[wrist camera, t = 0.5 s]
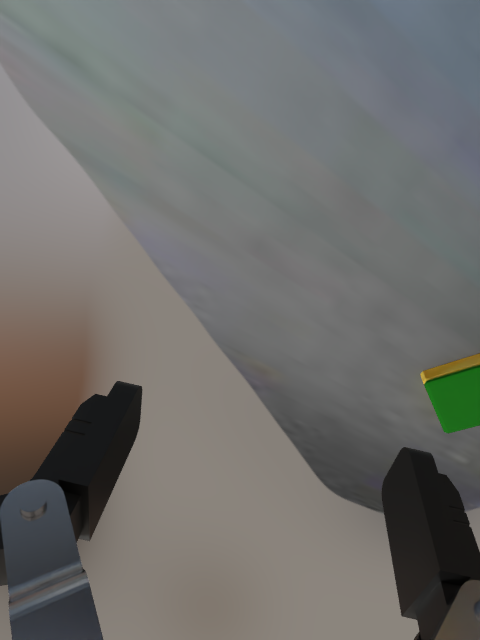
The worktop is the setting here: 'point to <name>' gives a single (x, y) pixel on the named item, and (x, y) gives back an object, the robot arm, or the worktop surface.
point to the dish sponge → (455, 393)
